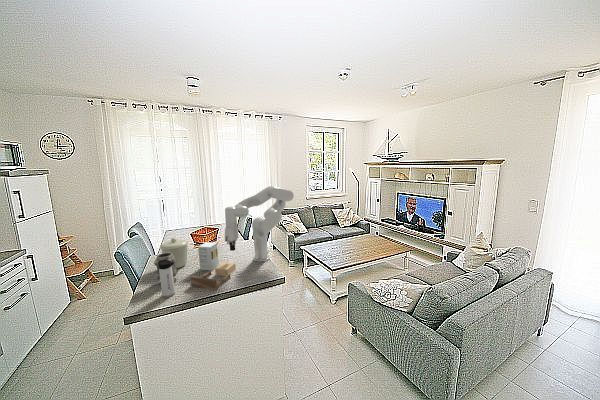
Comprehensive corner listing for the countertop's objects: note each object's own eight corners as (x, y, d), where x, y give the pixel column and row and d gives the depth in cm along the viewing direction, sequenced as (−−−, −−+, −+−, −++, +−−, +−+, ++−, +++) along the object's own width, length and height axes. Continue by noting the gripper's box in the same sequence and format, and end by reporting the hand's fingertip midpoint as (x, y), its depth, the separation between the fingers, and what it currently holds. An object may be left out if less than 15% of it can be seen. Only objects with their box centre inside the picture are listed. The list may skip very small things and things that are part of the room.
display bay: (208, 274, 158) (208, 265, 157) (231, 278, 152) (231, 269, 151) (191, 286, 144) (190, 276, 143) (215, 290, 138) (214, 281, 137)
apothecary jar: (178, 275, 158) (175, 249, 155) (178, 283, 147) (175, 256, 144) (157, 280, 152) (153, 253, 149) (155, 289, 142) (152, 260, 139)
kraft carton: (223, 268, 167) (223, 262, 166) (235, 269, 164) (235, 263, 164) (215, 275, 157) (215, 268, 156) (228, 276, 155) (227, 269, 154)
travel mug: (165, 292, 138) (160, 259, 134) (176, 291, 138) (172, 258, 135) (159, 298, 132) (155, 264, 128) (172, 297, 132) (167, 263, 129)
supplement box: (211, 270, 163) (209, 247, 161) (199, 270, 165) (197, 246, 162) (219, 264, 173) (217, 242, 170) (207, 264, 175) (205, 242, 172)
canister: (165, 274, 160) (162, 244, 157) (159, 265, 174) (156, 237, 170) (194, 265, 172) (191, 237, 169) (186, 258, 185) (183, 232, 182)
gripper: (233, 221, 173) (234, 246, 176) (219, 226, 159) (221, 253, 162) (242, 222, 171) (243, 247, 173) (229, 227, 157) (230, 254, 159)
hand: (232, 250), depth 168 cm, fingers closed
